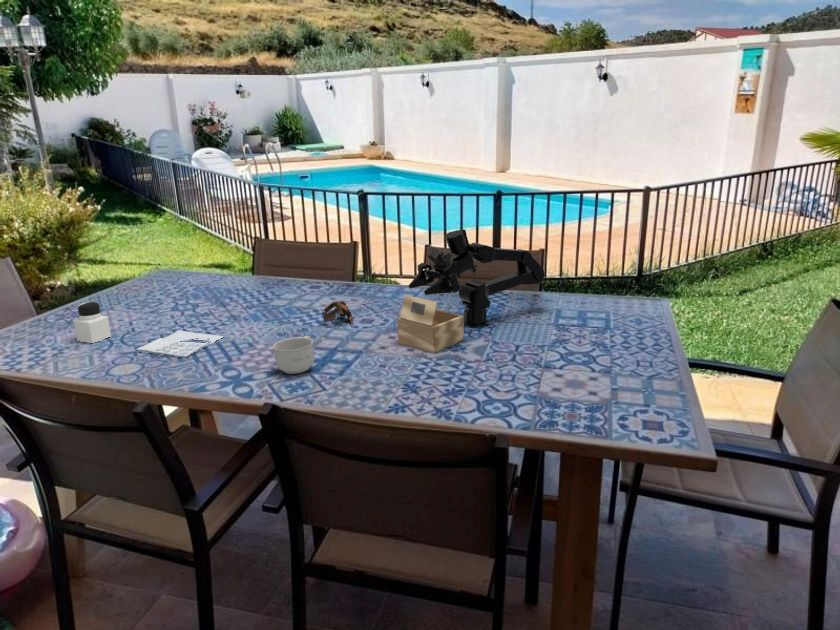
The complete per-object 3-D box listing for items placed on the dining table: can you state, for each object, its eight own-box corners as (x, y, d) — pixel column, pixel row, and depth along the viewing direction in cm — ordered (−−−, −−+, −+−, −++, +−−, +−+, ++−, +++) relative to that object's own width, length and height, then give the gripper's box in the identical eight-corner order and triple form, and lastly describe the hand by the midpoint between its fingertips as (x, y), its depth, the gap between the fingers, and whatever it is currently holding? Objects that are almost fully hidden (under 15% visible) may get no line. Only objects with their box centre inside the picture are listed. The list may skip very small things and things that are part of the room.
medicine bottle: (111, 337, 204) (105, 301, 200) (92, 344, 197) (85, 307, 194) (96, 334, 206) (90, 299, 203) (76, 341, 200) (70, 305, 197)
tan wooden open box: (428, 331, 203) (427, 307, 201) (465, 340, 194) (465, 315, 192) (397, 343, 193) (396, 318, 191) (434, 353, 184) (434, 327, 181)
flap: (405, 295, 190) (404, 294, 190) (437, 301, 182) (436, 301, 182) (400, 317, 190) (399, 317, 190) (432, 325, 182) (431, 325, 182)
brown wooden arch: (353, 328, 210) (340, 309, 206) (330, 338, 213) (316, 320, 209) (358, 309, 220) (345, 290, 216) (336, 319, 223) (323, 301, 219)
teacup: (296, 380, 167) (294, 352, 164) (266, 372, 172) (264, 345, 170) (330, 363, 178) (328, 336, 176) (301, 356, 183) (299, 330, 181)
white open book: (134, 354, 190) (133, 347, 189) (180, 333, 208) (179, 327, 207) (186, 361, 184) (185, 354, 183) (229, 339, 202) (228, 332, 201)
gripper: (432, 239, 204) (393, 261, 198) (466, 248, 189) (424, 272, 183) (442, 269, 209) (404, 292, 203) (476, 280, 193) (436, 305, 188)
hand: (416, 290), depth 194 cm, fingers open, 9 cm apart
